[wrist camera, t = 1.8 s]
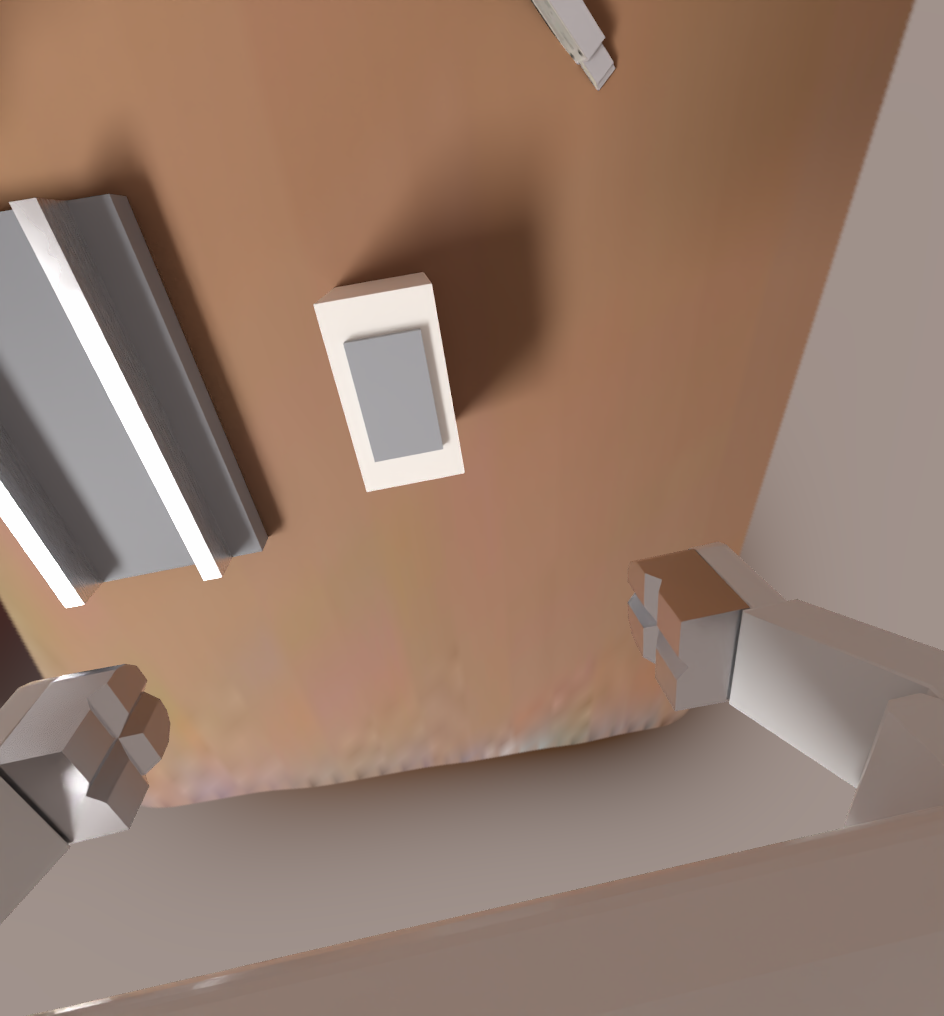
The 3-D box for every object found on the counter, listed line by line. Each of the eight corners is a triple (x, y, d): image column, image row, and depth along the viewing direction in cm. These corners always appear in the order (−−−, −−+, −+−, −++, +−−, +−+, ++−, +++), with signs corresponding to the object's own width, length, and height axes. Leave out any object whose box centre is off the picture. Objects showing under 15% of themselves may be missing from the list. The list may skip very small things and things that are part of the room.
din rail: (-147, 236, 20) (-198, 236, 19) (66, 200, 21) (36, 197, 19) (85, 585, 29) (65, 608, 27) (232, 556, 30) (222, 577, 28)
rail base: (-156, 243, 22) (-192, 243, 20) (126, 196, 22) (109, 193, 21) (69, 576, 30) (55, 591, 29) (268, 537, 31) (262, 550, 30)
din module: (334, 287, 25) (311, 305, 19) (423, 271, 25) (432, 284, 19) (373, 437, 29) (366, 495, 22) (450, 423, 29) (465, 476, 23)
